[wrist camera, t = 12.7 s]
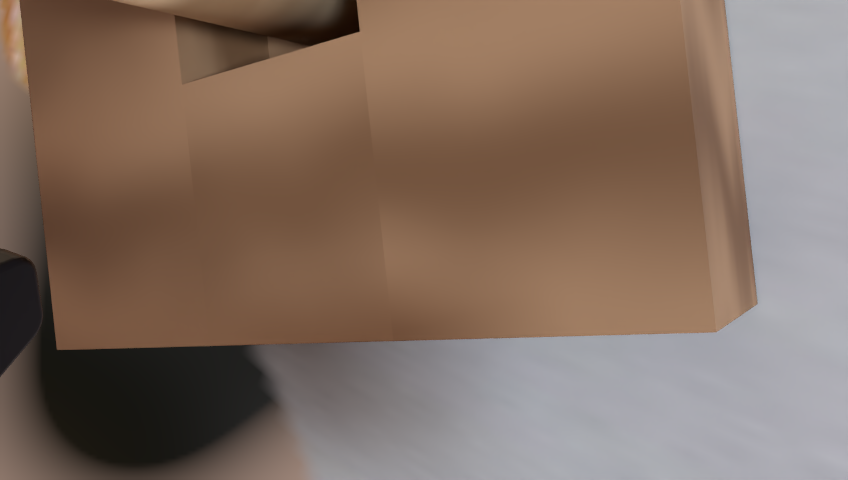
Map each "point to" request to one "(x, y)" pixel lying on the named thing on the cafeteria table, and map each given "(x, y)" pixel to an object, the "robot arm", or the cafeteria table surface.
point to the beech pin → (269, 16)
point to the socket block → (389, 174)
